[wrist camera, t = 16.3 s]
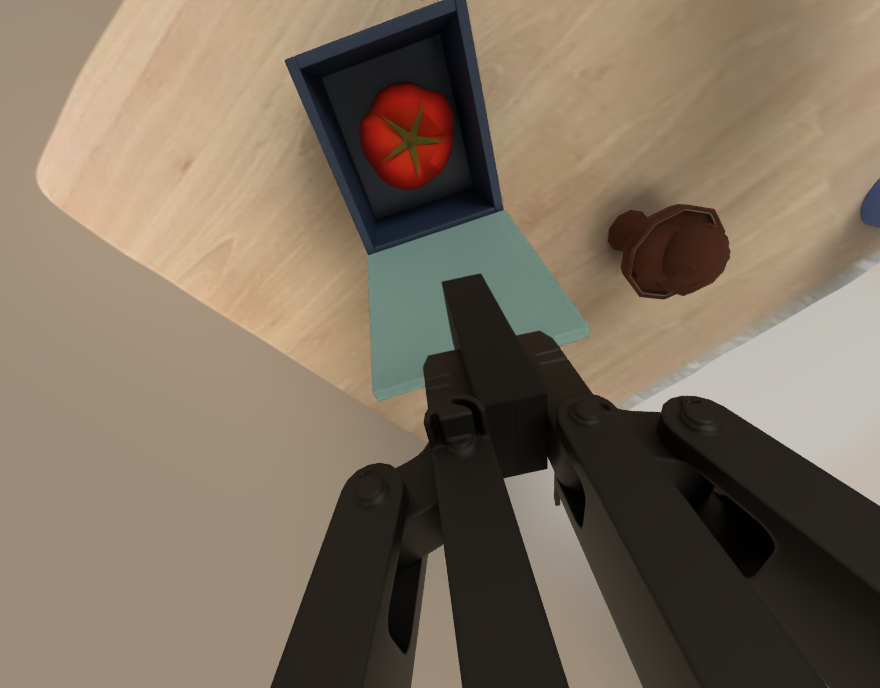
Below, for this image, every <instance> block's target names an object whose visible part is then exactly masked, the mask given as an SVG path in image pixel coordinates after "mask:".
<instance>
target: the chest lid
mask: <svg viewBox="0 0 880 688" xmlns="http://www.w3.org/2000/svg"><path fill="white" fill-rule="evenodd" d="M367 265H368V290H369V315H370V341H371V366H372V391H373V394H374V395H375V397H376V398H377V400H378V401H381V400H384V399H388V398H391V397H394V396H398V395H401V394H404V393H407V392H411V391H414V390H417V389H420V388H424V387H425V380H424V373H423V365H424V363H425V361H426V359H427V356H428V355H433V354H437V353H442V352H447V351H451V350H455V349H454V345H453V341H452V336H451V331H450V325H449V320H448V315H447V309H446V304H445V299H444V293H443V288H442V283H441V282H442V281H447V280H451V279H456V278H461V277H465V276H470V275H475V274H479V273H481V274H482V276H483V277H484V279H485V281H486V283H487V285H488V286H489V288H490V290H491V292H492V294H493V295H494V297H495V299H496V301H497V302H498V304H499V306H500V308H501V310H502V311H503V313H504V315H505V317H506V319H507V320H508V322H509V324H510V326H511V327H512V329H513V331H514V333H515V335H520V334H525V333H530V332H534V331H539V330H540V331H542V332H543V333H545V334H547V335H549V336H550V337H552V338H553V339H554V340H555V342H556V343H557V345H558V346H561V345H564V344H568V343H571V342H574V341H577V340H581V339H584V338H587V337H589V325H588V324H587V322H586V321H585V320H584V318H583V317H582V315H581V314H580V313H579V311H578V310H577V308H576V307H575V306H574V304H573V303H572V302H571V300H570V299H569V297H568V296H567V295H566V293H565V292H564V290H563V289H562V288H561V286H560V285H559V284H558V282H557V281H556V279H555V278H554V277H553V275H552V274H551V272H550V271H549V270H548V268H547V267H546V265H545V264H544V263H543V261H542V260H541V259H540V257H539V256H538V254H537V253H536V252H535V250H534V249H533V247H532V246H531V245H530V243H529V242H528V241H527V239H526V238H525V236H524V235H523V234H522V232H521V231H520V229H519V228H518V227H517V225H516V224H515V223H514V221H513V220H512V218H511V217H510V216H509V214H508V213H507V211H506V210H503V211H500V212H497V213H494V214H491V215H488V216H485V217H482V218H479V219H476V220H473V221H470V222H467V223H464V224H461V225H458V226H455V227H452V228H449V229H446V230H443V231H440V232H437V233H434V234H431V235H428V236H425V237H422V238H419V239H416V240H413V241H410V242H407V243H404V244H401V245H398V246H395V247H392V248H389V249H386V250H383V251H380V252H377V253H374V254H371V255H368V256H367Z"/></svg>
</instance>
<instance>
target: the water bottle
mask: <svg viewBox="0 0 880 688" xmlns="http://www.w3.org/2000/svg"><path fill="white" fill-rule="evenodd" d="M861 218H862V220H863V222H865V223H866V224H868V225H871V226H875V227H879V228H880V179H879V180H878V181H877V183H876V184H875V185H874V186H873V187H872V189H871V190H870V192H869V193H868V194H867V196H866V198H865V200H864V202H863V205H862V209H861Z"/></svg>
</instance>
